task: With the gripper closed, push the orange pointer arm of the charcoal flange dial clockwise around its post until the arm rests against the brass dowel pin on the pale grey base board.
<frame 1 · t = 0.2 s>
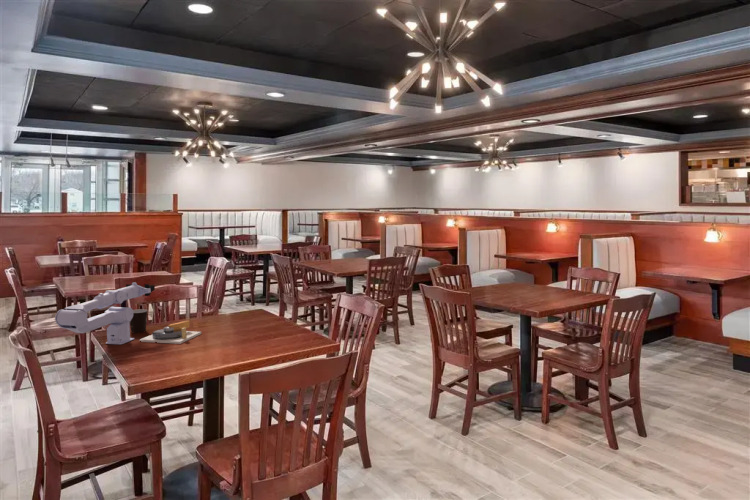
hand: (147, 287, 255), 21 cm above the table, tool horizontal, fingers open, 7 cm apart
base board: (171, 337, 245), on the table
dial: (172, 329, 245), point 4 cm above the table, hinge at 0.0°
coffee mug: (140, 331, 258), on the table
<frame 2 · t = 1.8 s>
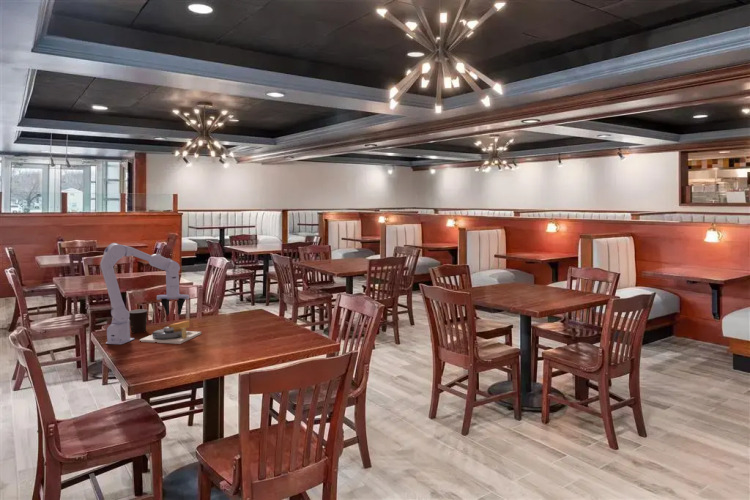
hand: (173, 314, 251), 9 cm above the table, tool pointing down, fingers open, 5 cm apart
nothing on the table moved.
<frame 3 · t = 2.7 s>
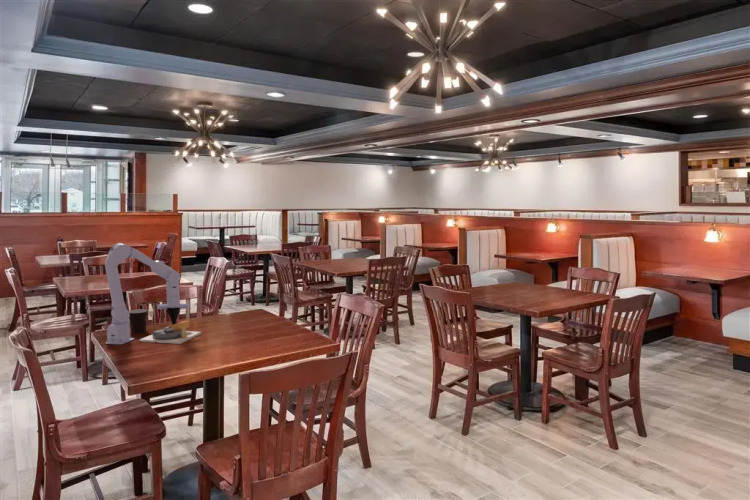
hand: (174, 323, 251), 5 cm above the table, tool pointing down, fingers closed
nothing on the table moved.
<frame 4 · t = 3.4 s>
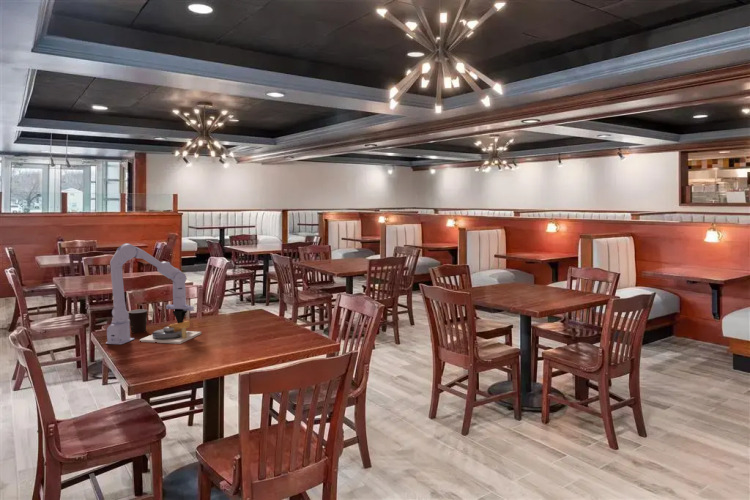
hand: (180, 324, 251), 4 cm above the table, tool pointing down, fingers closed
dial: (172, 329, 245), point 4 cm above the table, hinge at -0.1°, touching gripper
everything else where it was.
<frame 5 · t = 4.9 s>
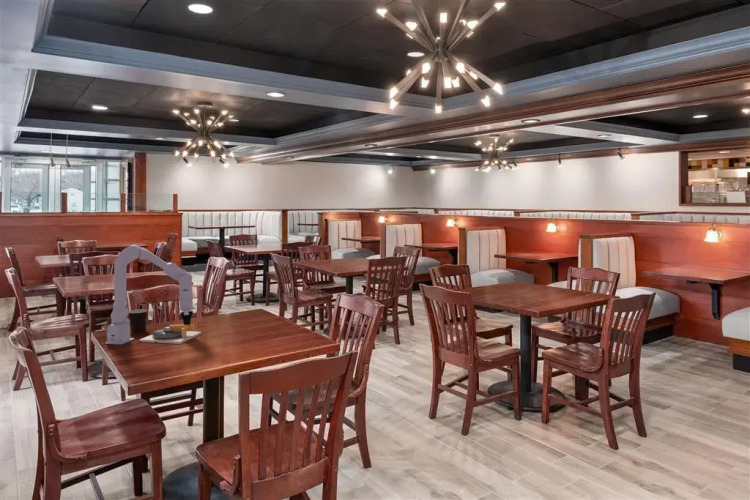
hand: (187, 327, 246), 4 cm above the table, tool pointing down, fingers closed, pressing on dial
dial: (173, 329, 244), point 4 cm above the table, hinge at -48.6°, touching gripper
everything else where it was.
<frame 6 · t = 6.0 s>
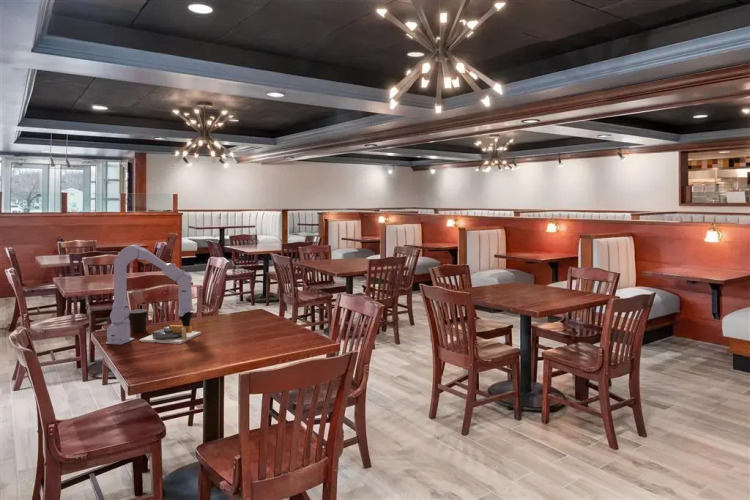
hand: (186, 328, 244), 4 cm above the table, tool pointing down, fingers closed
dial: (172, 330, 243), point 4 cm above the table, hinge at -67.7°, touching gripper
everything else where it was.
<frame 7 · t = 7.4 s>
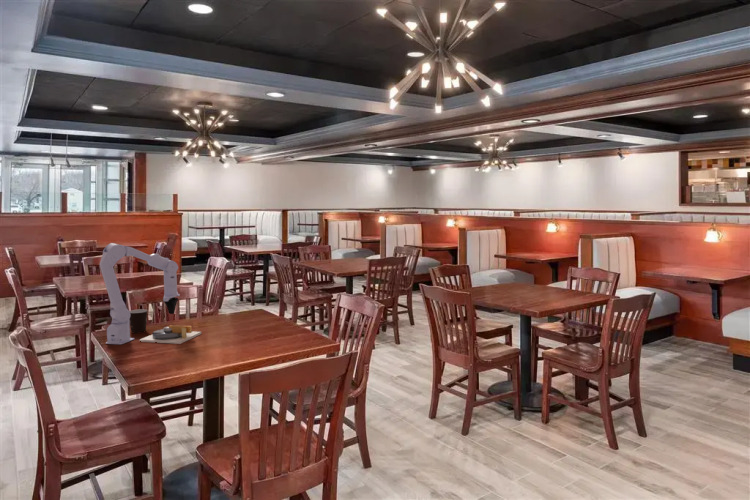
hand: (171, 313, 253), 9 cm above the table, tool pointing down, fingers closed
dial: (172, 330, 243), point 4 cm above the table, hinge at -68.7°
everything else where it was.
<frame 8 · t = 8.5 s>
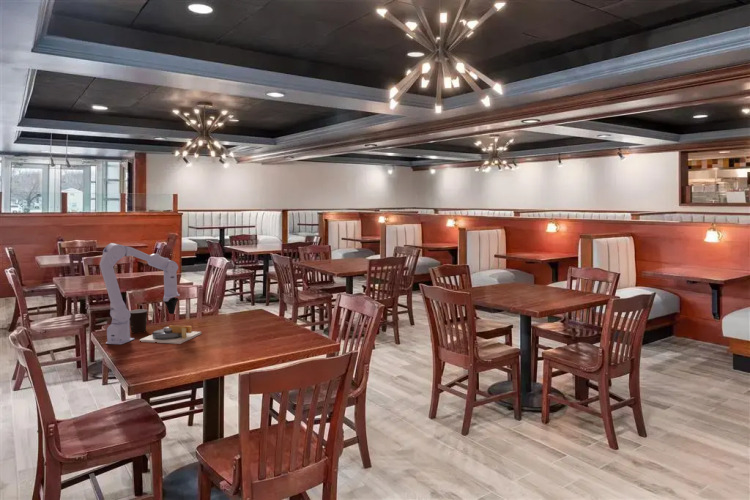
hand: (171, 313, 253), 9 cm above the table, tool pointing down, fingers closed
nothing on the table moved.
at the end: dial at -69° (first picture: +0°); coffee mug moved 0.2 cm from its start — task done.
